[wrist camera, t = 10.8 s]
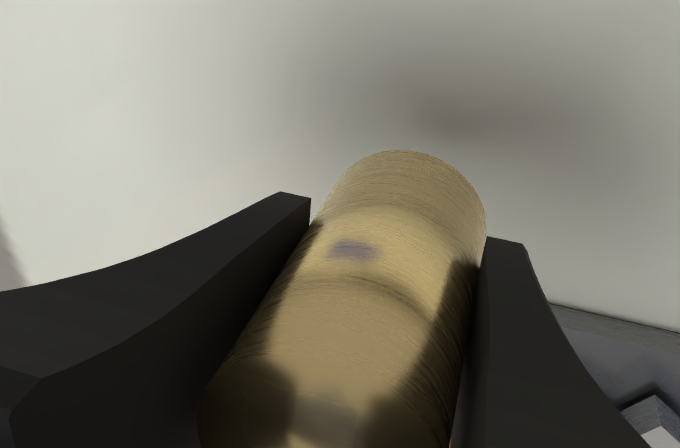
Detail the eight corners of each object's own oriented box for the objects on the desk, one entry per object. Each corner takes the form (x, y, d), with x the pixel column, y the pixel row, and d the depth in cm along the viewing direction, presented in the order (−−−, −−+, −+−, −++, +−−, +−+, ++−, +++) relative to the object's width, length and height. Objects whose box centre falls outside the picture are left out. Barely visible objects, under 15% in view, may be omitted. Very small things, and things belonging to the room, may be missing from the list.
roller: (502, 168, 12) (465, 401, 7) (469, 305, 14) (420, 572, 9) (335, 135, 13) (191, 328, 8) (323, 270, 14) (199, 500, 9)
